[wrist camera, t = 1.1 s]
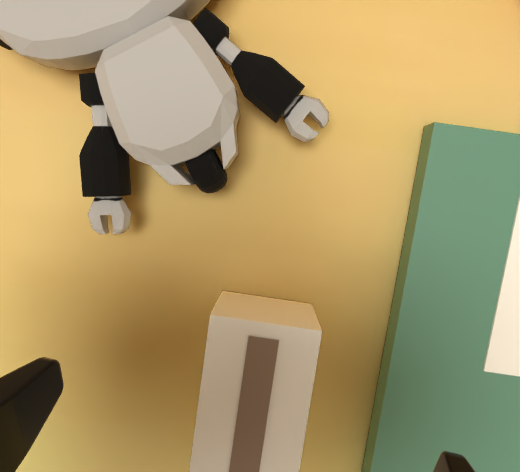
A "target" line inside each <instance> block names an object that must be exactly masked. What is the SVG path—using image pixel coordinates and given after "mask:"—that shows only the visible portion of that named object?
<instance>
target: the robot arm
mask: <svg viewBox="0 0 520 472" xmlns="http://www.w3.org/2000/svg"><path fill="white" fill-rule="evenodd" d="M62 390H63V379H62V373H61V368H60V364H59V362H58V361H57V360H54V359H50V358H46V357H41V358H38V359H36V360H34V361H32V362H30V363H28V364H26V365H24V366H22V367H20V368H18V369H16V370H14V371H12V372H11V373H9V374H7V375H5V376H3V377H1V378H0V472H15V471H16V469H17V468H18V466H19V465H20V464H21V462H22V461H23V459H24V458H25V456H26V454H27V453H28V451H29V450H30V448H31V446H32V445H33V443H34V441H35V439H36V438H37V436H38V434H39V432H40V430H41V429H42V427H43V425H44V423H45V422H46V420H47V418H48V416H49V415H50V413H51V411H52V409H53V407H54V406H55V404H56V402H57V400H58V399H59V397H60V395H61V393H62ZM433 472H475V470H474V469H473V468H472V466H471V465H470V463H469V462H468V460H467V459H466V458H465V457H464V456H463V455H461V454H457V453H453V452H448V451H443V452H442V453H441V454H440V457H439V459H438V461H437V463H436V466H435V468H434V470H433Z"/></svg>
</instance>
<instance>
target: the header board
mask: <svg viewBox="0 0 520 472" xmlns="http://www.w3.org/2000/svg"><path fill="white" fill-rule="evenodd" d="M443 451H448V452H453V453H457V454H461V455H463V456H464V457H465V458H466V459H467V460H468V462H469V463H470V465H471V466H472V468H473V469H474V470H475V472H520V134H514V133H507V132H500V131H493V130H486V129H479V128H472V127H464V126H457V125H450V124H443V123H436V122H434V123H432V124H429V125H427V126H425V127H424V130H423V136H422V141H421V147H420V152H419V158H418V163H417V169H416V175H415V180H414V186H413V191H412V197H411V202H410V208H409V213H408V219H407V224H406V230H405V235H404V241H403V246H402V252H401V257H400V263H399V268H398V274H397V279H396V285H395V290H394V296H393V301H392V307H391V312H390V318H389V323H388V329H387V335H386V340H385V346H384V351H383V357H382V362H381V368H380V373H379V379H378V384H377V390H376V395H375V401H374V406H373V412H372V417H371V423H370V428H369V434H368V439H367V445H366V450H365V456H364V461H363V467H362V472H433V470H434V468H435V466H436V463H437V461H438V459H439V457H440V454H441V453H442V452H443Z"/></svg>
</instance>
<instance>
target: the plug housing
mask: <svg viewBox="0 0 520 472" xmlns="http://www.w3.org/2000/svg"><path fill="white" fill-rule="evenodd" d="M321 336H322V329H321V327H320V324H319V321H318V319H317V316H316V313H315V311H314V308H313V305H312V304H310V303H303V302H296V301H289V300H282V299H276V298H269V297H262V296H255V295H248V294H242V293H235V292H228V291H222V292H221V294H220V296H219V298H218V300H217V302H216V304H215V306H214V308H213V310H212V312H211V314H210V319H209V326H208V334H207V341H206V349H205V356H204V364H203V371H202V378H201V386H200V393H199V401H198V408H197V416H196V423H195V431H194V438H193V446H192V453H191V461H190V468H189V472H299V470H300V464H301V458H302V452H303V445H304V439H305V433H306V427H307V421H308V415H309V409H310V403H311V397H312V391H313V385H314V378H315V372H316V366H317V360H318V354H319V348H320V342H321Z"/></svg>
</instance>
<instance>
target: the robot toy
mask: <svg viewBox="0 0 520 472" xmlns="http://www.w3.org/2000/svg"><path fill="white" fill-rule="evenodd" d="M209 2H210V0H0V46H2V47H4V48H6V49H8V50H12V49H14V50H15V51H16V52H17V53H18V54H20V55H22V56H24V57H26V58H28V59H30V60H33V61H35V62H37V63H39V64H41V65H43V66H47V67H53V68H58V69H64V70H83V69H88V68H94V67H96V69H95V73H86V74H79V78H80V91H81V101H83V102H84V103H85V104H86V105H88V106H89V107H92V119H93V127H92V129H91V131H90V133H89V135H88V137H87V139H86V141H85V143H84V146H83V148H82V150H81V152H80V155H79V157H80V168H81V180H82V192H83V197H95V198H94V200H93V203H92V205H91V208H90V210H89V212H88V216H89V219H90V223H91V226H92V229H93V230H94V231H96V232H97V233H99V234H107V233H109V228H108V215H112V225H113V233H112V234H120V233H123V232H124V231H126V230H127V229H128V228H129V223H130V217H131V212H130V211H129V209H128V207H127V205H126V204H125V202H124V200H123V198H122V197H121V196H125V195H130V194H131V183H130V167H129V155H128V153H129V154H130V155H131V156H132V157H133V158H134V159H135V160H137V161H140V162H143V163H145V164H148V165H150V166H151V167H152V168H153V169H154V170H155V171H156V172H157V173H158V174H159V175H160V176H161V177H163V178H164V179H165V180H166V181H167V182H168V183H169V184H170V185H193V184H196V185H197V186H198V188H199V189H200V190H201V191H203V192H205V193H213V192H216V191H218V190H220V189H222V188H223V187H224V186H225V184H226V182H227V175H226V172H225V169H228V167H229V166H230V165H231V163H232V162H233V161H234V159H235V158H236V157H237V155H238V154H239V152H238V142H237V132H236V127H237V124H238V121H239V117H240V112H239V104H238V96H237V93H236V89H235V86H234V84H233V82H232V81H231V79H230V77H229V76H228V74H227V72H226V71H225V69H224V67H223V66H222V64H221V63H220V61H219V59H218V58H217V56H216V55H217V54H218V55H219V56H220V57H221V58H222V59H224V60H225V61H226V62H227V63H228V64H229V65H231V67H232V69H233V72H234V74H235V77H236V79H237V81H238V83H239V86H240V88H241V90H242V92H243V94H244V96H245V97H246V98H247V99H248V100H250V101H251V102H252V103H253V104H254V105H255V106H257V107H258V108H259V109H260V110H261V111H263V112H264V113H265V114H266V115H267V116H268V117H270V118H271V119H272V120H273V121H274V122H275V123H276V122H277V121H278V120H279V119H280V118H281V116H282V115H283V118H284V121H285V123H286V125H287V128H288V130H289V132H290V135H291V136H293V137H295V138H297V139H299V140H301V141H303V142H307V141H311V140H313V139H314V138H315V137H316V136H317V135H318V132H316V131H314V130H313V129H312V128H310V127H309V126H308V125H307V124H306V123H304V122H303V120H304V118H305V117H306V116H307V115H309V116H310V117H312V118H313V119H314V120H315V121H316V122H317V123H318V124H319V125H320V127H321V128H323V127H324V126H325V125H326V124H327V122H328V119H329V112H328V110H327V109H326V107H325V106H324V105H323V103H322V102H321V101H320V99H316V98H312V97H308V96H304V95H299V94H300V93H301V91H302V90H303V88H304V87H305V86H304V85H303V84H302V83H301V82H300V81H298V80H297V79H296V78H295V77H294V76H293V75H292V74H290V73H289V72H288V71H287V70H286V69H285V68H283V67H282V66H281V65H280V64H279V63H278V62H277V61H275V60H274V59H273V58H271V57H267V56H263V55H259V54H256V53H251V52H246V51H242V50H241V49H239V48H238V47H237V46H236V45H235V44H234V43H232V42H231V41H230V40H229V39H228V38H229V27H228V26H226V25H225V24H224V23H223V22H222V21H221V20H219V19H218V18H217V17H216V16H215V15H214V14H213V13H211V12H210V11H209V10H208V9H206V8H205V9H204V10H203V11H202V13H201V14H200V15H199V16H198V17H197V19H196V20H195V21H194V23H193V24H192V23H191V22H190V21H191V20H192V19H193V18H194V17H195V16H196V15H197V14H198V13H199V12H200V11H201V10H202V9H203V8H204V7H205V6H206V5H207V4H208V3H209ZM220 147H221V151H222V160H223V165H222V163H221V161H220V159H219V157H218V155H217V153H216V151H215V150H217V149H218V148H220ZM127 152H128V153H127ZM184 164H186V166H187V168H188V171H189V173H190V174H189V173H188V172H187V171H186V170H185V169H184V168H183V167H182V165H184Z"/></svg>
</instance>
